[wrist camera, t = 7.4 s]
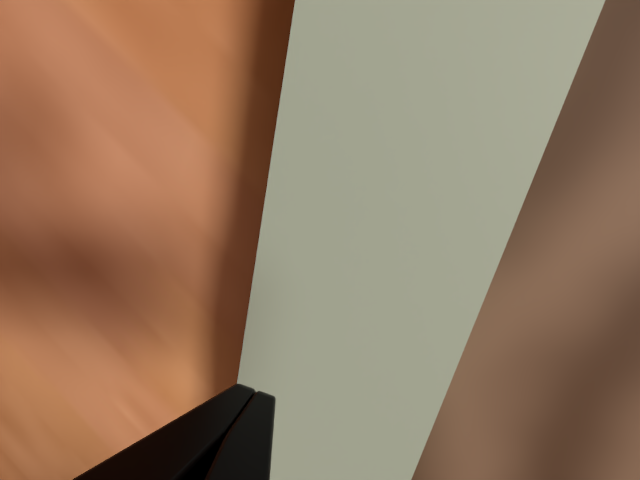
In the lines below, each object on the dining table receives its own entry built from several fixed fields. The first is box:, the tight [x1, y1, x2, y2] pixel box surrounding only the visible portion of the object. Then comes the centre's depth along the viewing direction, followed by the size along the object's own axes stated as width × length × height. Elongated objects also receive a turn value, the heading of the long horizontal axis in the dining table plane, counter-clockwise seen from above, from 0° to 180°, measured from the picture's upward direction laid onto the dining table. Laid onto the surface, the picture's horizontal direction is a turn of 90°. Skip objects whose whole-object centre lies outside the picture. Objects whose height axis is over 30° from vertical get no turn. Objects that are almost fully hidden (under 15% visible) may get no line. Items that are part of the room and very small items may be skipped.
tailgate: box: [237, 0, 605, 480], centre depth 15 cm, size 2×24×8 cm
